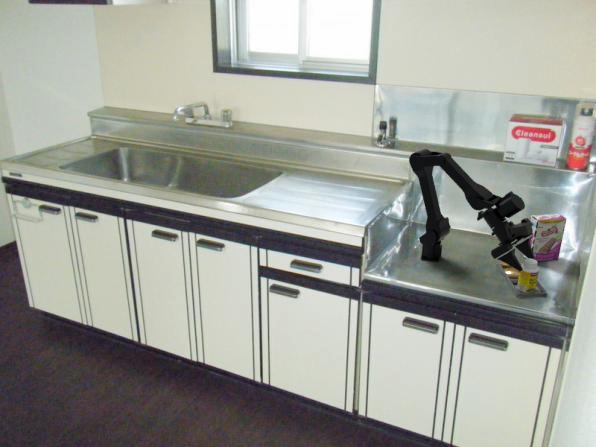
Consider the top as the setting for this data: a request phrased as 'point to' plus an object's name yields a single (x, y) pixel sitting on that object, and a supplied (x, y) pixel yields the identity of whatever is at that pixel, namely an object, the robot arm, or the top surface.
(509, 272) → the rack
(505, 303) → the top surface
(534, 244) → the candy bar box
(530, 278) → the supplement bottle
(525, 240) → the robot arm
